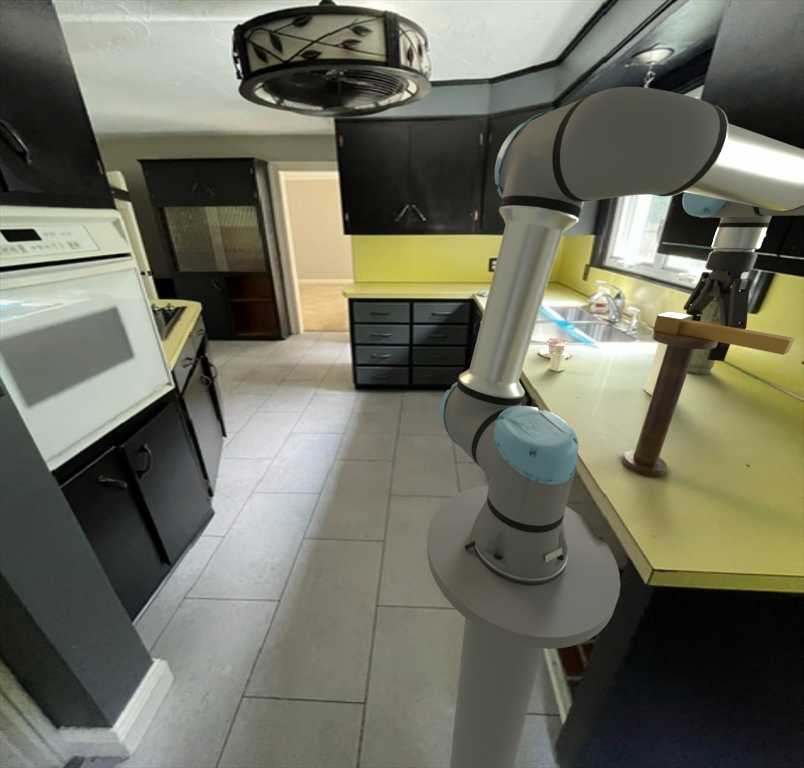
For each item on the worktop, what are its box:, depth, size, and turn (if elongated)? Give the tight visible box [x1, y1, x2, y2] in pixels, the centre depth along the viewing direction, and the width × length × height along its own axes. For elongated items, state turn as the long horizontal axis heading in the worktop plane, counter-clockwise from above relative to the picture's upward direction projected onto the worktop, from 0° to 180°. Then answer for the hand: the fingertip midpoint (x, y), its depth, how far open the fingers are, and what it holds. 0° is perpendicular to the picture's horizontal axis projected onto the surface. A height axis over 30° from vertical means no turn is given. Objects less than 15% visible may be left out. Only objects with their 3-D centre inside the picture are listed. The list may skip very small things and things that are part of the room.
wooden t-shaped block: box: [652, 311, 795, 356], centre depth 64 cm, size 5×18×3 cm, turn 32°
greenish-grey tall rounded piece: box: [687, 298, 721, 376], centre depth 126 cm, size 9×12×35 cm
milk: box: [644, 342, 667, 396], centre depth 110 cm, size 6×6×22 cm
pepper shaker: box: [548, 344, 567, 372], centre depth 132 cm, size 4×4×10 cm
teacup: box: [538, 337, 571, 360], centre depth 149 cm, size 12×12×6 cm
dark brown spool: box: [622, 330, 718, 478], centre depth 74 cm, size 10×10×30 cm
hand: (699, 350), depth 82 cm, fingers open, 13 cm apart
